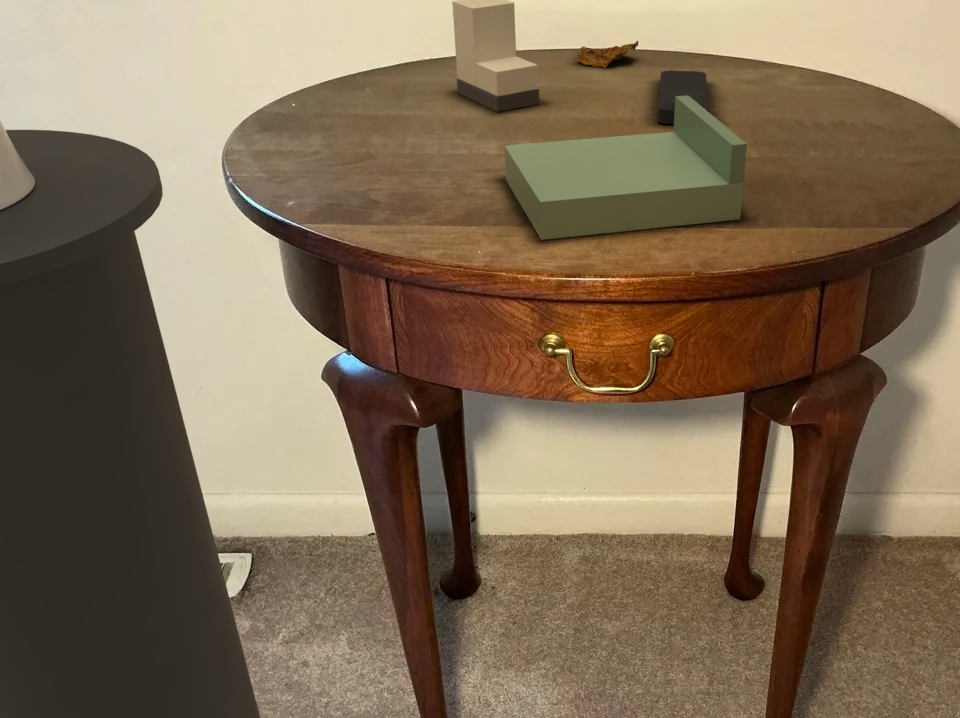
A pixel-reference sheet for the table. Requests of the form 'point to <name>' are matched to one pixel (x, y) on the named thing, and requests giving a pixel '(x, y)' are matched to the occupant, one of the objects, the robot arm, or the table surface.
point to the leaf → (603, 54)
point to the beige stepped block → (491, 56)
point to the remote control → (680, 91)
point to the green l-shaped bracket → (631, 178)
